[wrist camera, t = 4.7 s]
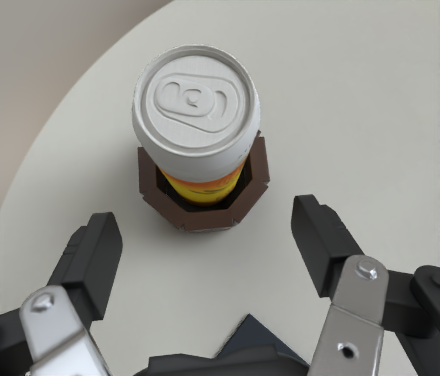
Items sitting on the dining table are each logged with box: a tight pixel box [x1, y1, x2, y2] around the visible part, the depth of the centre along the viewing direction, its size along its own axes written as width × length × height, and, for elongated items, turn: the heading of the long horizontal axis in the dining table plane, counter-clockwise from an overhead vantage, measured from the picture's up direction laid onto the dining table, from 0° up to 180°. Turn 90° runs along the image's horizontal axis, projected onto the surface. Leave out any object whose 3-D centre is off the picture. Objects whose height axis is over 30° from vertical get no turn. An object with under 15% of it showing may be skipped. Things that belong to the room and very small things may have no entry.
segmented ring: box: [138, 130, 270, 233], centre depth 24 cm, size 10×10×4 cm
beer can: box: [132, 44, 261, 207], centre depth 19 cm, size 6×6×15 cm
